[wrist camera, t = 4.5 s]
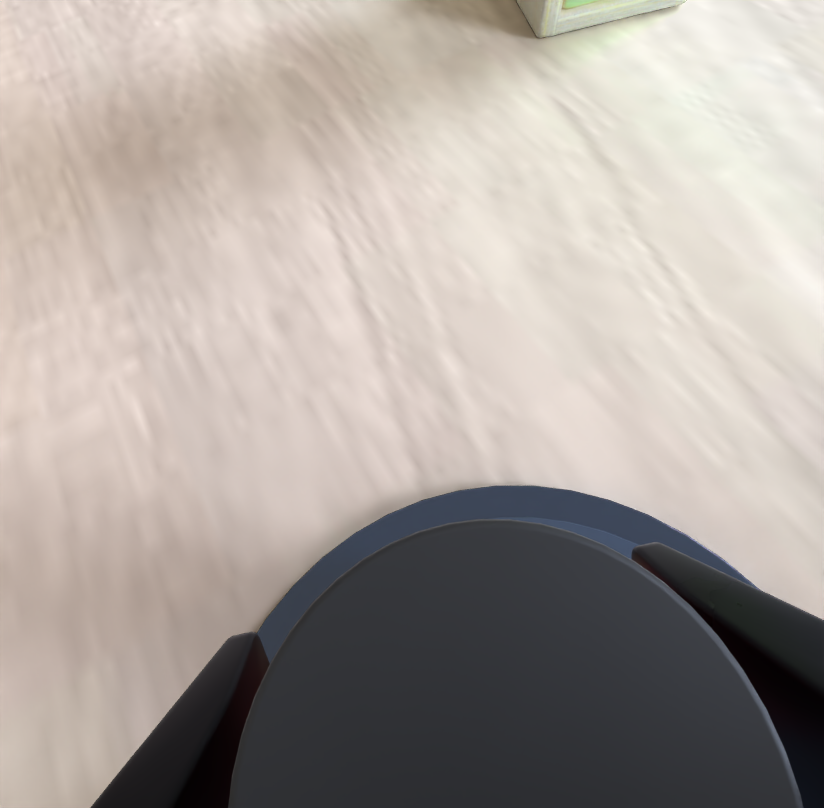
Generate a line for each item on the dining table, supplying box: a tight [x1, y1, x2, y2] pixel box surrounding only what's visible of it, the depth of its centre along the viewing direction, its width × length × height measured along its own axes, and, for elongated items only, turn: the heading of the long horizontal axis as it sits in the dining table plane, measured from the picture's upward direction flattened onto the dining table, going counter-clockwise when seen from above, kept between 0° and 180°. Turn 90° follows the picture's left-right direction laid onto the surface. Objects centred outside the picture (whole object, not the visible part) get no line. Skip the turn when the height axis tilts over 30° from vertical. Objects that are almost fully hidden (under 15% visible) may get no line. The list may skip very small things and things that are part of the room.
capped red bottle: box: [228, 519, 803, 808], centre depth 9 cm, size 5×5×12 cm
